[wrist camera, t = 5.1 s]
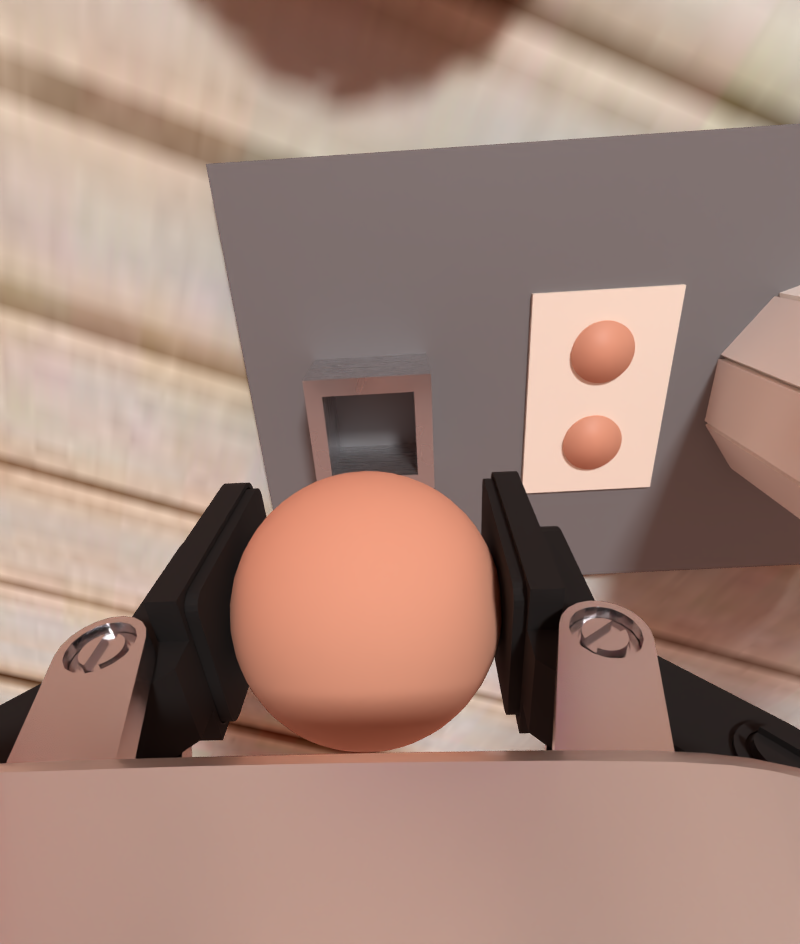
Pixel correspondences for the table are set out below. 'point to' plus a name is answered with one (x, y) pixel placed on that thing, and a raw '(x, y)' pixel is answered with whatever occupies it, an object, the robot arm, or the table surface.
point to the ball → (365, 611)
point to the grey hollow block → (360, 380)
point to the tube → (762, 401)
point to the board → (530, 322)
